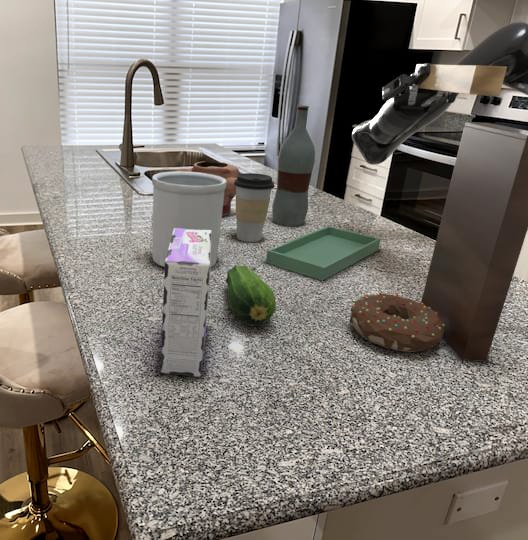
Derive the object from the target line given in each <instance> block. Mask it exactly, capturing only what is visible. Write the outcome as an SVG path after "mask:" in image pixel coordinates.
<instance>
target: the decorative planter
mask: <svg viewBox="0 0 528 540" xmlns="http://www.w3.org/2000/svg"><path fill="white" fill-rule="evenodd" d="M177 171H186V172H198V173H206V174H211V175H216V176H220V177H222V178H224V179H226V181H227V183H226V188H225V190H224V201H223V210H222V217H223V216H227V215H229V214H230V213H231V208H232V202H233V199H234V198H235V197H236V186H235V185H234V182H235V179H237V177H238V175H239V174H241V172H240V169H239V167H238V166H236V165H234V164H230V163H228V162H219V161H208V160H207V161H206V160H205V161H204V160H203V161H198V162H196V163H194V164H193V166H192V168H181V169H178V170H177Z"/></svg>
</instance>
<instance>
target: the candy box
mask: <svg viewBox="0 0 528 540" xmlns="http://www.w3.org/2000/svg"><path fill="white" fill-rule="evenodd" d="M211 239H212V231H211V230H201V229H182V228H174V230H173V233H172V237H171V241H170V244H169V248H168V252H167V255H166V259H165V267H164V273H163V297H162V318H161V319H162V320H161V321H162V322H161V345H160V346H161V347H160V371H159V372H160V373H161V374H168V375H176V376H177V375H179V376H185V377H186V376H187V377H195V378H196V377H197V378H201V376H202V375H203V363H204V353H205V343H206V334H207V322H208V312H209V311H208V309H209V297H210V282H211V268H212V267H211Z"/></svg>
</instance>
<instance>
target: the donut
mask: <svg viewBox="0 0 528 540" xmlns="http://www.w3.org/2000/svg"><path fill="white" fill-rule="evenodd" d="M349 309H350V317H349V323H350V324H351V325H352V326H353V327H354V329H355V330H356V332H357V333H358V334H359V335H360V336H361V337H362V338H364V339H366V340H367V341H369V342H371V343H372V344H375V345H378V346H380V347H382V348H385V349H389V350H394V351H398V352H399V351H400V352H411V353H413V352H422V351H423V352H424V351H425V350H428V349H431V348H433V347H435V346H436V345H440V342H441V340H443V338H442V337H443V333H444V330H445V328H444V324H443V322H442V320H441V319H440V317H439V315H438V314H437V312H435V311H433V310H432V309H431V308H430V307H427V306H426V305H423V303H421V302H418V301H416V300H414V299H411V298H409V297H406V296H400V295H399V294H396V295H395V294H394V293H391V294H390V293H385V292H383V293H382V292H380V293H379V294H370V295H369V294H366V295H364V296H361V297H359V298H357V299H356V300H354V303H353V304H352V305H351V307H350V308H349Z"/></svg>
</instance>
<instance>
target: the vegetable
mask: <svg viewBox="0 0 528 540" xmlns="http://www.w3.org/2000/svg"><path fill="white" fill-rule="evenodd" d="M226 274H227V276H226V279H225V282H226V285H227V300H228V304H229V306H230V309H231V311H232V314H233V316H234V317H235V318H236V320H238V321H239V322H241V323H242V324H245V325H248V326H251V327H252V326H261V325H262V324H264V323H267V321H270V319H271V318H272V316H273V315H274V314H275V312H276V310H277V306H276V305H277V303H276V297H275V293H274V291H273V289H272V288H271V287H270V285H268V284H267V283H266V282H265V281H264V280H263V279H262V278H261V276H259V275H258V274H257V273H256V272H255V271H253V270H251V269H250V268H249V267H248V266H247V265H237V264H235V265H234V266H232V268H230V269H228V270H227V273H226Z"/></svg>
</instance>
